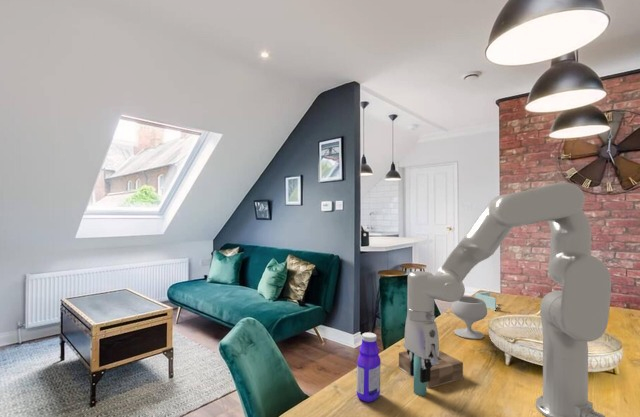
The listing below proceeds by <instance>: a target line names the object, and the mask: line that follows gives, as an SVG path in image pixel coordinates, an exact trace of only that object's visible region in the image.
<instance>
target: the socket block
mask: <svg viewBox="0 0 640 417" xmlns="http://www.w3.org/2000/svg"><path fill="white" fill-rule="evenodd" d="M437 358H438V361H439V364H436V365H434V366H432V368H430V381H428V382H427V389H431V388H435V387H438V386H441V385H445V384H449V383H453V382H457V381H460V380H464V379H465V378H464V361H461V360H459V359H457V358H455V357H453V356H451V355H449V354H447V353H445V352H444V351H442V350H440V349H439V357H437ZM410 362H411V361H410V360H409V355H408V353H407V350H404V351H401V352H398V366H397V368H398V369H399V370H402V371H403V372H404V373H405V374H406V375H408V376H410V377H411V378H413V379H414V376H411V375H410ZM427 362H428V360H427Z"/></svg>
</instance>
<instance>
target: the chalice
mask: <svg viewBox="0 0 640 417" xmlns="http://www.w3.org/2000/svg"><path fill="white" fill-rule="evenodd" d="M451 311H452V313H453V314H454V315H455V316H456V317H457V318H459V319H460V320H462V321H463V322H465V325H466V327H465V328H463V327H462V328H456V329H454V330H453V333H454V334H455V335H456V336H459V337H460V338H461V337H462V338H464V339H469V340H481V339H484V338H485V337H484V335H485V334H484V333H483V332H481V331H479V330H478V329H477V330H476V329H472V325H473V324H474V323H476V322H478V321H482V320H484V319H485V318H486V317H487V315H488V309H487V307H486V304H485V302H484V301H483V300H482V299H479V298H475V296H466V295H465V296H463V297H462V298H461V299H460V300H458V301H456V302H451ZM483 337H484V338H483Z"/></svg>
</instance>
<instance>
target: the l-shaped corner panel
mask: <svg viewBox="0 0 640 417" xmlns="http://www.w3.org/2000/svg"><path fill="white" fill-rule="evenodd" d="M474 297H475V298H479V299H482V300H483V301H484V302H485V304H486V307H487V308H490V309H494V310H496V311H497V309H496V307H498V308H499V305H498V304H497V297H493V296H491V291H489V290H487V291H483V292H481V291H480V292H475V293H474Z"/></svg>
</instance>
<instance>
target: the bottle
mask: <svg viewBox="0 0 640 417" xmlns="http://www.w3.org/2000/svg"><path fill="white" fill-rule="evenodd" d="M377 340H378V338H377V334H375V333H373V332H364V333H362V334H361V344H360V347H359V349H358V351H359V355H358V358H357V361H356V397H357V398H358V399H360V400H361V401H363V402H367V403H371V402H373V401H375V400H377V399H378V398H379V396H380V394H381V365H382V364H381V363H382V361H381V357H380V355H379V353H380V349H379V347H378V343H377Z"/></svg>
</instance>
